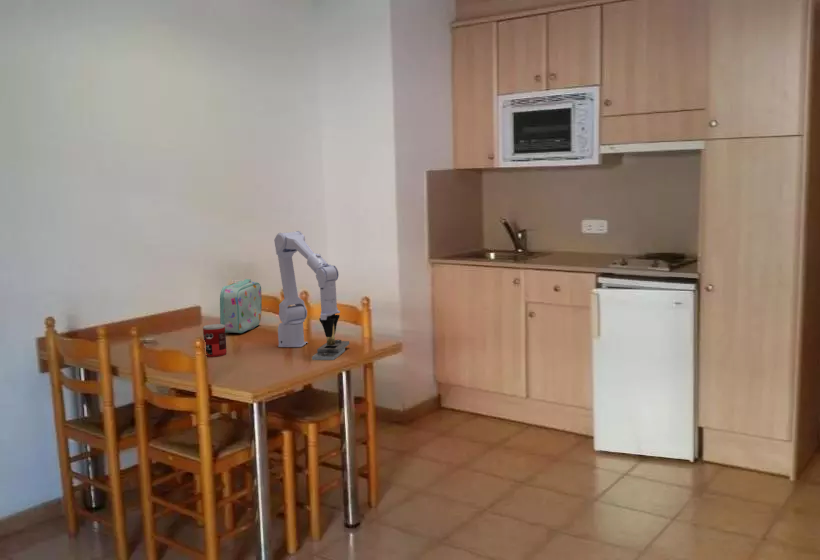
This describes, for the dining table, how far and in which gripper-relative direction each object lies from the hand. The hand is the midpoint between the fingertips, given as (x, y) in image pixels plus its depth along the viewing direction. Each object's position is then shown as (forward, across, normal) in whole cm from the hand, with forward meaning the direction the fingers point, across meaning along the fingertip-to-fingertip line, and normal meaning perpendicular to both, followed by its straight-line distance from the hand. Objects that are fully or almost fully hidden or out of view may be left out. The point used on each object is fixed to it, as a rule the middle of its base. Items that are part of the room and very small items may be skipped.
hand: (330, 335), depth 298 cm
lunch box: (+7, +43, +54) cm, 69 cm away
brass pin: (+3, 0, 0) cm, 3 cm away
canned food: (+7, -4, +44) cm, 45 cm away
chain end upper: (+5, +3, 0) cm, 6 cm away
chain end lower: (+7, -3, 0) cm, 7 cm away
